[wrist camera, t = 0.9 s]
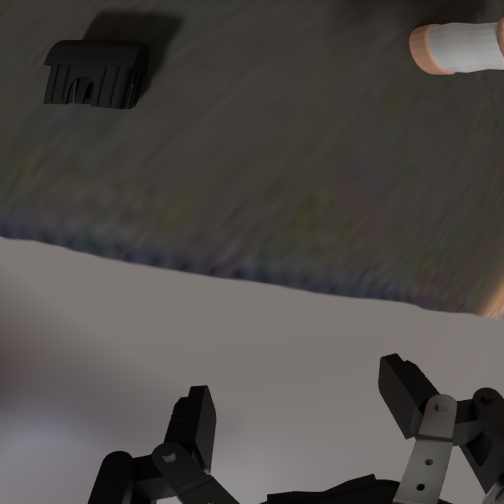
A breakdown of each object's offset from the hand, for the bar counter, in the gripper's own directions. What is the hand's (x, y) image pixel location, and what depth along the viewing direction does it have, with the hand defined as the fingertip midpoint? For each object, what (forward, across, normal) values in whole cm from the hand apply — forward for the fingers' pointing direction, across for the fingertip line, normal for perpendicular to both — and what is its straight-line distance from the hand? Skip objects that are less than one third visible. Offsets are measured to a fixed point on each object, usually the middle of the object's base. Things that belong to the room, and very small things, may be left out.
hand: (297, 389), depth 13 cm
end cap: (+20, +15, -24) cm, 35 cm away
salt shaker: (+23, -26, -26) cm, 43 cm away
